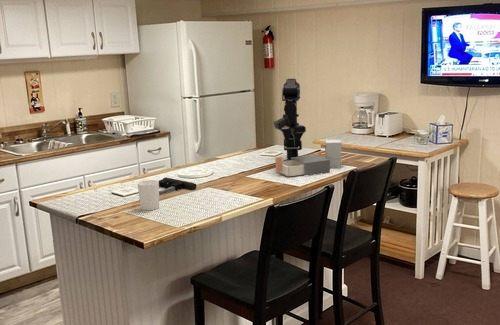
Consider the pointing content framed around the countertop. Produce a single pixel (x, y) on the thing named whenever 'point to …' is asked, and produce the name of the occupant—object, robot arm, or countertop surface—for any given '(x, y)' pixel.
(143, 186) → the white cup
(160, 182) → the black handgun
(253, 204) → the countertop surface
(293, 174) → the tray
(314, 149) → the countertop surface
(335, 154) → the supplement box
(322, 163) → the mailer sleeve
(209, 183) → the countertop surface
